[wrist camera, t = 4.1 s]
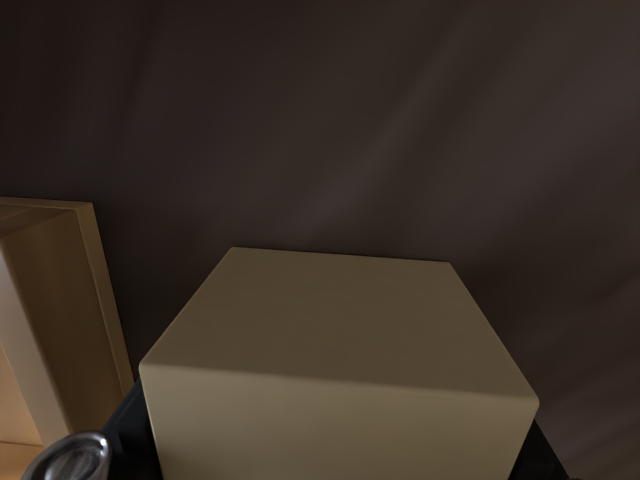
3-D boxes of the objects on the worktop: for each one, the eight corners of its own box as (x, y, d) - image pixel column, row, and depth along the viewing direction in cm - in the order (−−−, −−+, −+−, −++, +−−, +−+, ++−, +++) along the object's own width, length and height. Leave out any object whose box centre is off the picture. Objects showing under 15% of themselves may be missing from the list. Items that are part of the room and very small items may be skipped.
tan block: (450, 261, 9) (544, 402, 5) (415, 418, 11) (456, 606, 7) (231, 245, 9) (135, 365, 5) (241, 402, 11) (182, 572, 7)
